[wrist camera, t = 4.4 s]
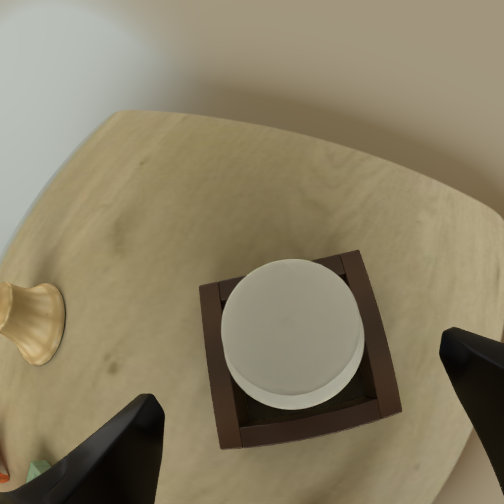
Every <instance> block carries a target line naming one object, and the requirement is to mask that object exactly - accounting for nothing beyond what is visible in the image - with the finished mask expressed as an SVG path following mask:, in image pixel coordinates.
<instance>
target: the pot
mask: <svg viewBox="0 0 504 504" xmlns="http://www.w3.org/2000/svg"><path fill="white" fill-rule="evenodd" d="M7 481H9V476H8V475H4V474H1V473H0V483H5V482H7Z"/></svg>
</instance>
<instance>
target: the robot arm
mask: <svg viewBox="0 0 504 504" xmlns="http://www.w3.org/2000/svg"><path fill="white" fill-rule="evenodd" d="M439 355H440V359H441V361H442V363H443V365H444V368H445V370H446V372H447V374H448V376H449V379H450V381H451V383H452V386H453V388H454V390H455V392H456V395H457V396H458V398H459V400H460V402H461V404H462V406H463V407H464V409H465V411H466V413H467V415H468V417H469V419H470V421H471V422H472V424H473V426H474V428H475V430H476V432H477V434H478V436H479V438H480V440H481V442H482V444H483V447H484V449H485V451H486V453H487V455H488V457H489V460H490V462H491V464H492V467H493V469H494V472H495V474H496V476H497V479H498V481H499V484H500V487H502V488H501V490H502V492H503V495H504V343H501V342H498V341H495V340H492V339H489V338H486V337H483V336H480V335H477V334H474V333H471V332H468V331H465V330H462V329H460V328H457V327H452V328H449V329H447V330H445V331H444V332H443V333H442V338H441V344H440V350H439ZM164 423H165V413H164V410H163V409H162V407H161V405H160V404H159V402H158V401H157V399H156V398H155V396H154V395H153V394H140V395H138V396H137V397H136V398H135V399H134V400H133V401H131V402H130V403H129V404H128V405H127V406H126V407H124V408H123V409H122V410H121V411H120V412H118V413H117V414H116V415H115V416H114V417H113V418H111V419H110V420H109V421H108V422H107V423H105V424H104V425H103V426H102V427H101V428H99V429H98V430H97V431H96V432H95V433H93V434H92V435H91V436H90V437H89V438H87V439H86V440H85V441H84V442H82V443H81V444H80V445H79V446H78V447H76V448H75V449H74V450H73V451H71V452H70V453H69V454H68V455H67V456H65V457H64V458H63V459H61V460H60V461H59V462H57V463H56V464H55V465H53V466H52V467H51V468H49V469H48V470H46V471H45V472H43V473H42V474H40V475H39V476H37V477H36V478H34V479H32V480H31V481H29V482H27V483H26V484H24V485H22V486H21V487H19V488H17V489H15V490H13V491H10V492H0V504H154V502H155V496H156V489H157V483H158V477H159V471H160V466H161V460H162V452H163V436H164Z"/></svg>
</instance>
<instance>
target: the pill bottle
mask: <svg viewBox="0 0 504 504" xmlns="http://www.w3.org/2000/svg"><path fill="white" fill-rule="evenodd" d="M221 336H222V343H223V347H224V354H225V359H226V362H227V366H228V368H229V370H230V373H231V375H232V376H233V378H234V379H235V381H236V382H237V384H238V385H239V386H240V387H241V388H242V389H243V390H244V391H245V392H246V393H247V394H248V395H250V396H251V397H252V398H254V399H255V400H257V401H259V402H261V403H263V404H265V405H268V406H271V407H275V408H279V409H288V410H295V409H304V408H308V407H312V406H315V405H318V404H321V403H323V402H325V401H327V400H329V399H330V398H332V397H333V396H335V395H336V394H337V393H339V392H340V391H341V390H342V389H343V388H344V387H345V386H346V385H347V384H348V383H349V381H350V380H351V379H352V377H353V376H354V374H355V372H356V371H357V369H358V366H359V364H360V362H361V358H362V355H363V350H364V328H363V323H362V319H361V316H360V314H359V309H358V306H357V303H356V300H355V298H354V296H353V294H352V292H351V290H350V289H349V287H348V286H347V285H346V283H345V282H344V281H343V280H342V279H341V278H340V277H339V276H338V275H337V274H335V273H334V272H333V271H331V270H330V269H328V268H326V267H324V266H322V265H320V264H317V263H314V262H311V261H307V260H302V259H285V260H279V261H274V262H271V263H268V264H265V265H263V266H261V267H259V268H257V269H255V270H254V271H252V272H251V273H249V274H248V275H247V276H246V277H244V278H243V279H242V280H241V281H240V282H239V283H238V285H237V286H236V287H235V288H234V290H233V291H232V293H231V294H230V296H229V298H228V300H227V302H226V305H225V308H224V311H223V315H222V322H221Z"/></svg>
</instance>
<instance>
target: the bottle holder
mask: <svg viewBox="0 0 504 504" xmlns="http://www.w3.org/2000/svg"><path fill="white" fill-rule="evenodd" d="M311 262H314V263H317V264H320V265H322V266H324V267H326V268H328V269H330V270H331V271H333V272H334V273H335V274H337V275H338V276H339V277H340V278H341V279H342V280H343V281H344V282H345V283H346V285H347V286H348V287H349V289H350V290H351V292H352V294H353V296H354V298H355V300H356V303H357V306H358V309H359V314H360V316H361V319H362V323H363V328H364V350H363V355H362V358H361V362H360V364H359V368H360V373H361V378H362V382H363V387H364V392H365V397H362V398H358V399H355V400H351V401H348V402H344V403H340V404H336V405H333V406H328V407H324V408H320V409H316V410H311V411H306V412H301V413H296V414H291V415H285V416H280V417H273V418H267V419H260V420H252V421H250V418H249V412H248V406H247V400H246V394H245V391H244V390H243V389H242V388H241V387H240V386H239V385H238V384H237V382H236V381H235V379H234V378H233V376H232V375H231V373H230V370H229V368H228V366H227V362H226V359H225V354H224V347H223V343H222V336H221V322H222V315H223V311H224V308H225V305H226V302H227V300H228V298H229V296H230V294H231V293H232V291H233V290H234V288H235V287H236V286H237V285H238V283H239V282H240V281H241V280H242V279H243V278H244V277H246V276H247V275H246V276H241V277H236V278H232V279H227V280H222V281H219V282H213V283H209V284H204V285H200V286H199V291H200V302H201V312H202V322H203V331H204V340H205V349H206V357H207V365H208V373H209V380H210V387H211V394H212V401H213V407H214V414H215V420H216V426H217V432H218V438H219V444H220V449H222V450H225V449H240V448H251V447H260V446H268V445H276V444H282V443H289V442H294V441H300V440H305V439H310V438H315V437H320V436H324V435H328V434H333V433H337V432H341V431H344V430H348V429H352V428H355V427H359V426H362V425H365V424H369V423H372V422H375V421H378V420H380V419H384V418H387V417H390V416H393V415H395V414H398V413H401V412H402V407H401V402H400V396H399V391H398V386H397V381H396V377H395V372H394V368H393V363H392V359H391V355H390V351H389V347H388V343H387V339H386V335H385V331H384V328H383V324H382V320H381V317H380V313H379V310H378V307H377V303H376V300H375V297H374V293H373V290H372V287H371V284H370V281H369V278H368V275H367V272H366V269H365V266H364V263H363V260H362V257H361V254H360V251H359V250H355V251H351V252H347V253H342V254H340V255H339V254H338V255H334V256H330V257H326V258H321V259H317V260H313V261H311Z"/></svg>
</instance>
